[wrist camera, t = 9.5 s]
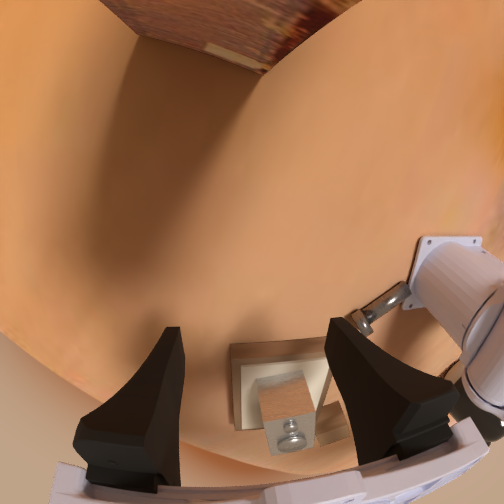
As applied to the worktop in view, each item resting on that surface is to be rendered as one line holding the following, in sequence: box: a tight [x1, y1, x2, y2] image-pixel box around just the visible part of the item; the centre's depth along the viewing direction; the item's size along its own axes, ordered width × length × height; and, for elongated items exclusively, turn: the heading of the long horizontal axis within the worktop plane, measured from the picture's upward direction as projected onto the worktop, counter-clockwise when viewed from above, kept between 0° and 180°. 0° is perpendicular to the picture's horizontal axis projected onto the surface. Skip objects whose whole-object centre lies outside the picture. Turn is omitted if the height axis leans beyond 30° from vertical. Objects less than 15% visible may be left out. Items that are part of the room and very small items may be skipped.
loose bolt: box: [351, 281, 412, 337], centre depth 25 cm, size 6×3×3 cm, turn 125°
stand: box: [230, 336, 332, 431], centre depth 29 cm, size 10×13×2 cm
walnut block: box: [315, 401, 349, 447], centre depth 32 cm, size 4×4×4 cm
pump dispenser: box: [444, 361, 504, 447], centre depth 29 cm, size 10×10×15 cm
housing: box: [256, 370, 316, 456], centre depth 25 cm, size 4×8×6 cm, turn 8°
